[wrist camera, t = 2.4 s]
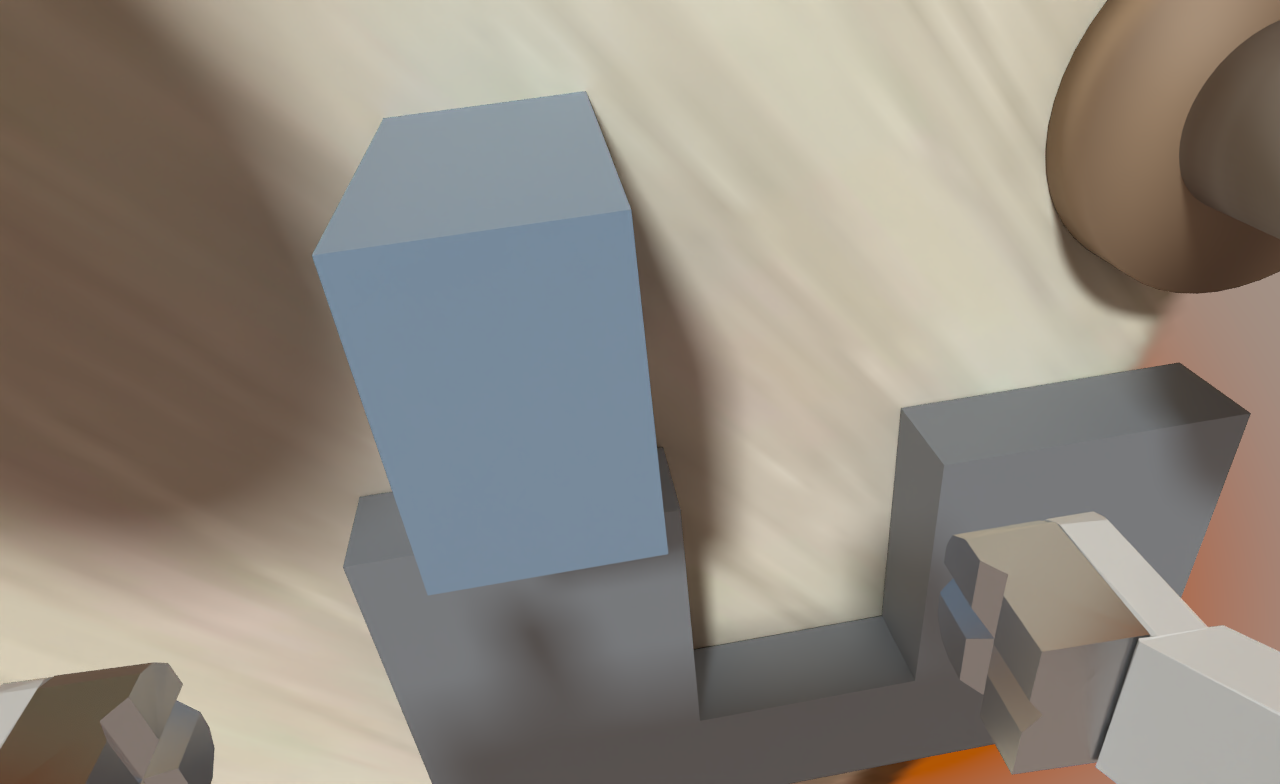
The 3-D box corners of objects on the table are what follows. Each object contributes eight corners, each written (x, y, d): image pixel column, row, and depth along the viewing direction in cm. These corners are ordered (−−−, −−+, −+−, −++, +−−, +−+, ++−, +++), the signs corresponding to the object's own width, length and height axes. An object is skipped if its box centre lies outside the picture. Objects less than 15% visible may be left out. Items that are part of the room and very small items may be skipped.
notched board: (462, 772, 27) (458, 847, 25) (359, 497, 20) (343, 567, 18) (1089, 655, 28) (1136, 716, 26) (1179, 362, 22) (1250, 413, 20)
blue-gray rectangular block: (451, 376, 19) (427, 595, 13) (383, 117, 16) (311, 255, 10) (619, 351, 19) (668, 554, 14) (585, 90, 16) (631, 209, 10)
